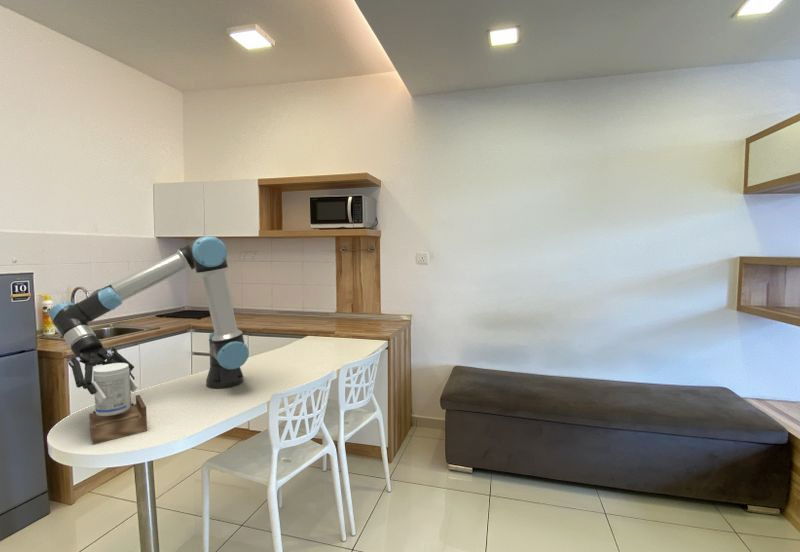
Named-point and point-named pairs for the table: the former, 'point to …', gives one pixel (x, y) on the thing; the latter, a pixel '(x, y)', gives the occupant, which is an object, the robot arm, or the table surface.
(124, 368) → the supplement tub
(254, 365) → the table surface
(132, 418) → the shelf
